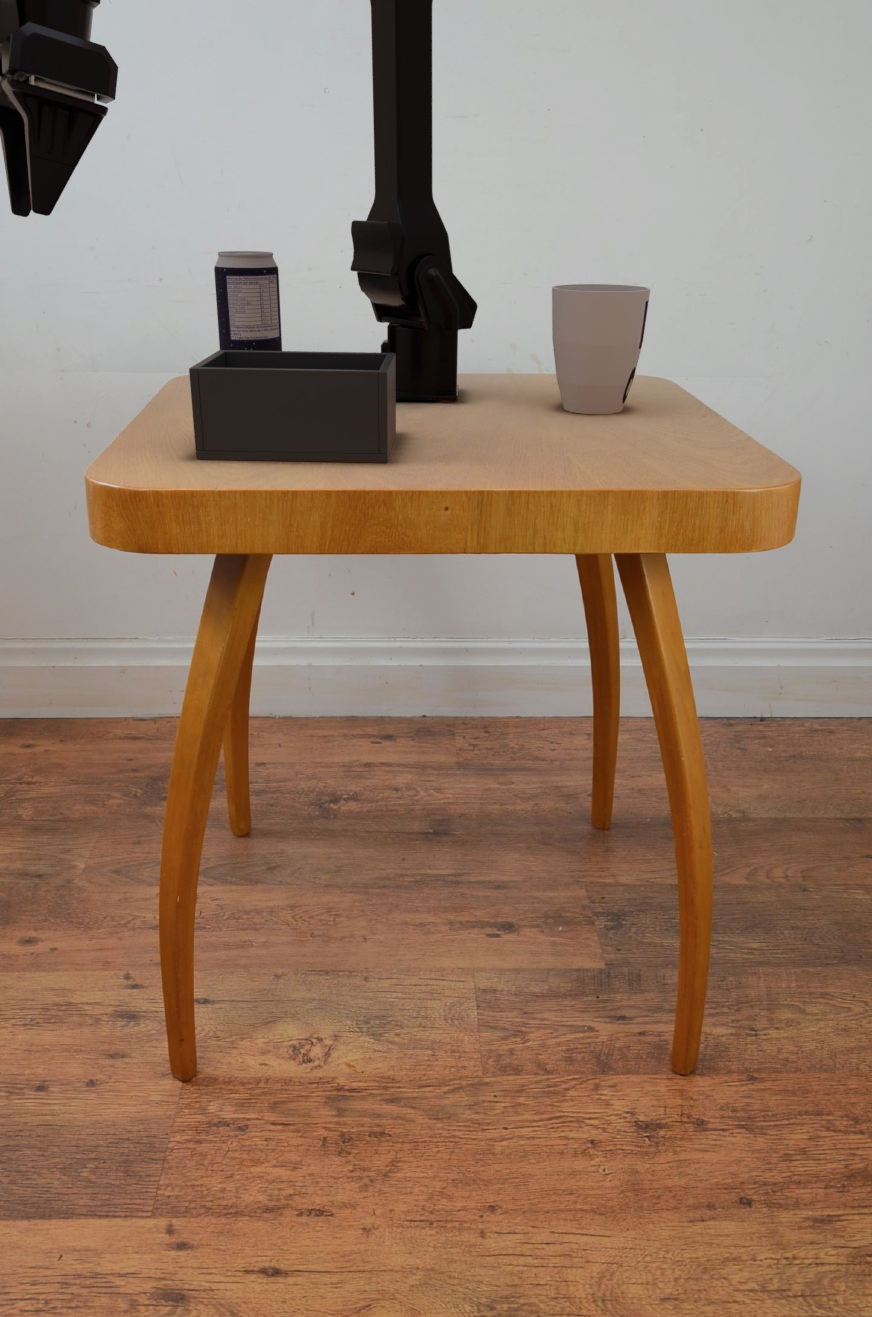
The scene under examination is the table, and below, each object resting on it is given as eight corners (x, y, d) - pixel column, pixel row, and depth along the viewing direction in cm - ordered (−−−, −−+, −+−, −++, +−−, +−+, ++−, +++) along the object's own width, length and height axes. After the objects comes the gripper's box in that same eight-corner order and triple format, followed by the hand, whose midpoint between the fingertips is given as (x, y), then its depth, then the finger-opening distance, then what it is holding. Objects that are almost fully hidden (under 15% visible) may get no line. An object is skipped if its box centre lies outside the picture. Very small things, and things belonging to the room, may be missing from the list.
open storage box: (395, 434, 80) (395, 352, 77) (387, 462, 71) (387, 371, 69) (224, 431, 80) (218, 349, 77) (196, 459, 71) (188, 368, 69)
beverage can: (294, 386, 99) (288, 251, 94) (266, 396, 94) (258, 254, 89) (241, 382, 101) (233, 250, 96) (211, 391, 96) (200, 252, 91)
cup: (653, 416, 88) (664, 291, 84) (559, 418, 86) (567, 291, 82) (621, 399, 95) (631, 283, 91) (535, 401, 94) (541, 283, 90)
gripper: (-97, -55, 71) (-109, 189, 75) (-77, -133, 56) (-93, 178, 60) (72, 2, 77) (52, 226, 81) (132, -54, 61) (104, 225, 66)
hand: (29, 214), depth 72 cm, fingers open, 9 cm apart
